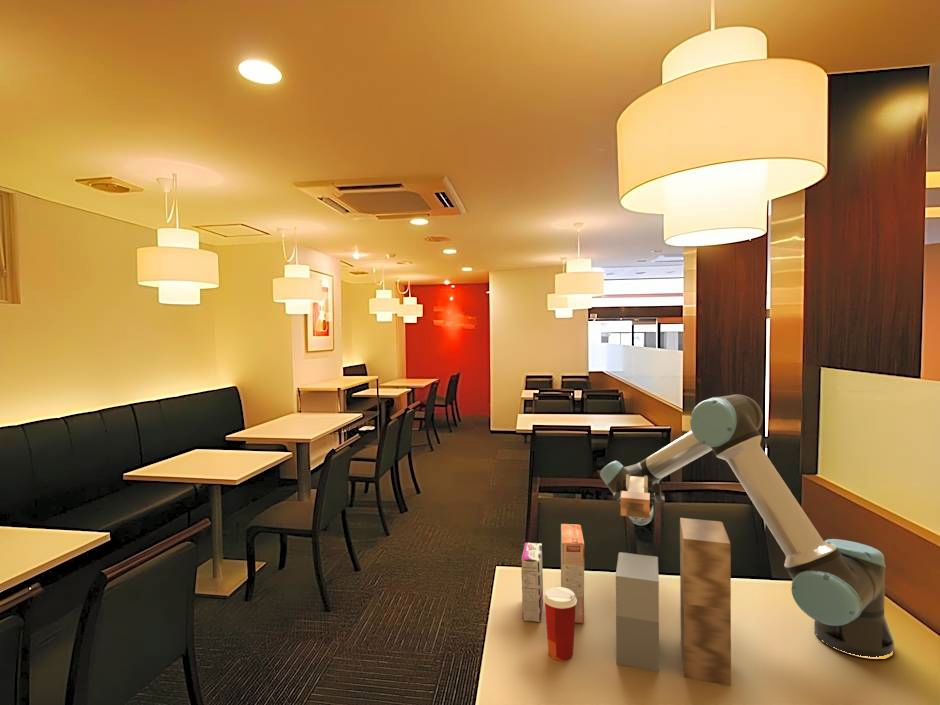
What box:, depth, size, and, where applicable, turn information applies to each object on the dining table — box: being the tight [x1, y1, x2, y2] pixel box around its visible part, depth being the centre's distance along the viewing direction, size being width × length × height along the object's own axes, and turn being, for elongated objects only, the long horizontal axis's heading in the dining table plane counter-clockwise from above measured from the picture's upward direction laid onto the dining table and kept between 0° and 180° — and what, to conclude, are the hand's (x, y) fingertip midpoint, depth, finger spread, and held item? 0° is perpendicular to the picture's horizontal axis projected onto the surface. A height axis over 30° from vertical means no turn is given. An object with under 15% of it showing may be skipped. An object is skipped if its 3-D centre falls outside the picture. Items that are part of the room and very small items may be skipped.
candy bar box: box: [520, 542, 544, 623], centre depth 136 cm, size 11×5×16 cm, turn 168°
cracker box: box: [560, 523, 585, 624], centre depth 136 cm, size 14×6×21 cm, turn 171°
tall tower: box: [679, 517, 732, 686], centre depth 113 cm, size 9×13×30 cm
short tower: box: [615, 551, 660, 673], centre depth 118 cm, size 9×13×20 cm
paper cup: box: [543, 586, 577, 662], centre depth 117 cm, size 8×8×14 cm
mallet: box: [620, 476, 650, 518], centre depth 120 cm, size 6×22×4 cm, turn 160°
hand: (636, 480), depth 123 cm, fingers closed on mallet, 3 cm apart
